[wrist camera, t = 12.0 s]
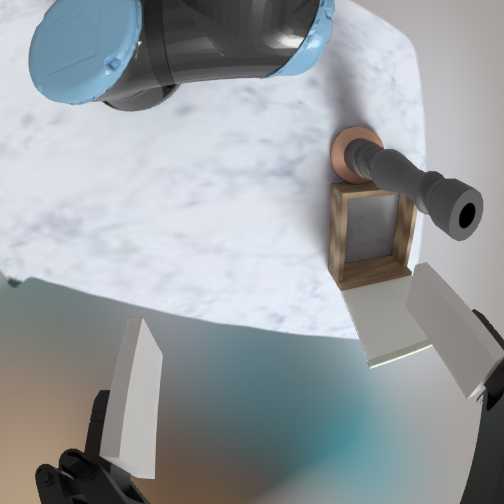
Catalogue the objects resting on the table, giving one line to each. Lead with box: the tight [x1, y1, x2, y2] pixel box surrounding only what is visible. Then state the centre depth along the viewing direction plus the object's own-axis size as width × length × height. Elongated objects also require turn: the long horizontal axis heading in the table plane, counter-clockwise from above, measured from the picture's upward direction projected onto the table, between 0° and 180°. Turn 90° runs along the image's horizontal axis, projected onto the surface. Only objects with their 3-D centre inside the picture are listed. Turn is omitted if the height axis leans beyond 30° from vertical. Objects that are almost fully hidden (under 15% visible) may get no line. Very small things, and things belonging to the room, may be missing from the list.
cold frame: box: [329, 181, 417, 291], centre depth 48 cm, size 25×16×12 cm, turn 6°
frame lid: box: [341, 275, 433, 368], centre depth 44 cm, size 4×16×15 cm, turn 96°
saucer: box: [331, 126, 384, 184], centre depth 43 cm, size 10×10×1 cm
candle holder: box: [344, 138, 483, 241], centre depth 32 cm, size 6×6×25 cm
